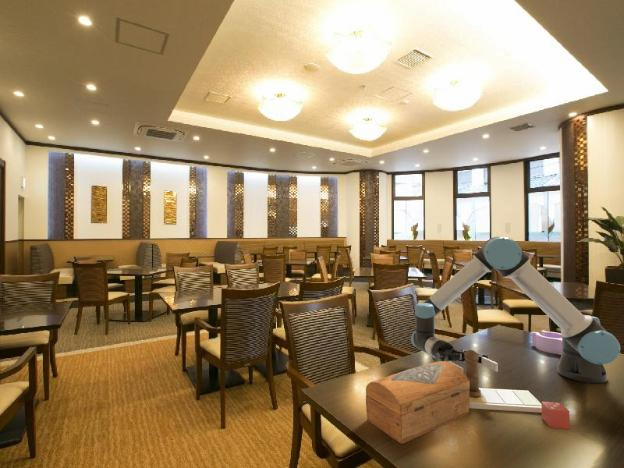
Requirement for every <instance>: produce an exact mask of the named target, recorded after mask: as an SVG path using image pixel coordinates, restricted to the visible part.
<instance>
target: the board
mask: <svg viewBox="0 0 624 468" xmlns="http://www.w3.org/2000/svg"><path fill="white" fill-rule="evenodd" d="M479 389H480V390H481V397H478V398H473V397H469V409H478V410H479V409H481V410H493V411H509V412H511V411H512V412H525V413H527V412H528V413H541V414H542V402H540V401H539V400H538V398H536V397H535V396H534V395H533V394H532V393H531V392H530V391H529V390H524V389H523V390H522V389H505V388H504V389H503V388H487V387H486V388H484V387H479Z"/></svg>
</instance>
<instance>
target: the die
mask: <svg viewBox="0 0 624 468" xmlns="http://www.w3.org/2000/svg"><path fill="white" fill-rule="evenodd" d="M541 404H542V413H541V419H542V420H543V421H544V422H545V423H546V425H548V427H550V428H554V429H555V428H556V429H567V430H568V429H571V428H570V427H571V426H570V425H571V424H570V410H569V409H568V408H566V406H564V405H563V404H562V403H561V402H556V401H555V402H554V401H541Z"/></svg>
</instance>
